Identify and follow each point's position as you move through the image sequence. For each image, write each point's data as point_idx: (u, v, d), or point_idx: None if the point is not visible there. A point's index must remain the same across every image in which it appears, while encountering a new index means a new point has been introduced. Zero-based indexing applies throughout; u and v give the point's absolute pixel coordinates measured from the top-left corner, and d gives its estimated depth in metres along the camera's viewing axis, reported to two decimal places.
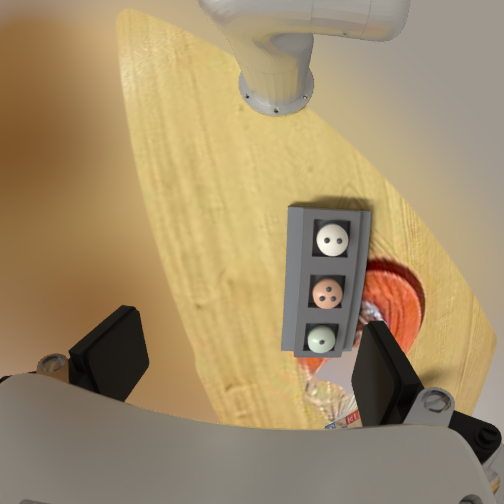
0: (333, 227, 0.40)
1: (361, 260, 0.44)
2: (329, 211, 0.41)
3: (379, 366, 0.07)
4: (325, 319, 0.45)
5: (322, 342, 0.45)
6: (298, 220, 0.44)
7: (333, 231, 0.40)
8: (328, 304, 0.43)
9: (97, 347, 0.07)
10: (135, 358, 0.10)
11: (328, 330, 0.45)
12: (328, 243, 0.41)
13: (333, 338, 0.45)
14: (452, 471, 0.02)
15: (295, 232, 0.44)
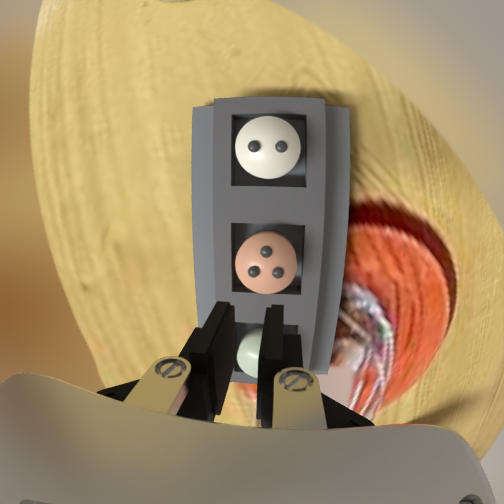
0: (266, 120, 0.18)
1: (338, 199, 0.23)
2: (261, 98, 0.19)
3: None
4: None
5: None
6: (210, 127, 0.22)
7: (267, 127, 0.19)
8: (268, 284, 0.22)
9: (217, 344, 0.08)
10: (231, 353, 0.11)
11: None
12: (258, 151, 0.19)
13: None
14: (452, 471, 0.02)
15: (205, 148, 0.23)
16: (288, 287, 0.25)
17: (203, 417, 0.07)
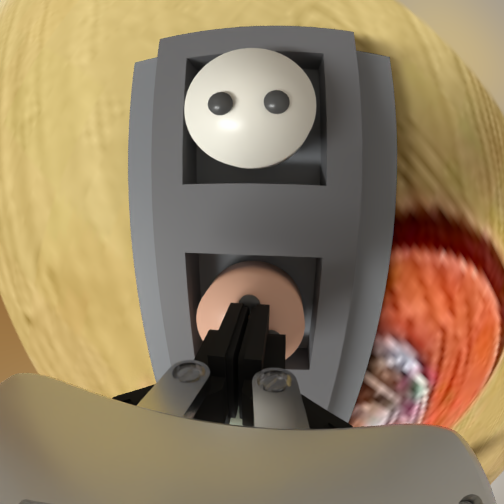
0: (246, 55, 0.08)
1: (377, 207, 0.12)
2: (240, 30, 0.09)
3: None
4: None
5: None
6: None
7: (247, 68, 0.08)
8: None
9: (235, 347, 0.08)
10: None
11: None
12: (228, 113, 0.09)
13: None
14: (452, 471, 0.02)
15: (149, 123, 0.12)
16: None
17: (220, 421, 0.07)
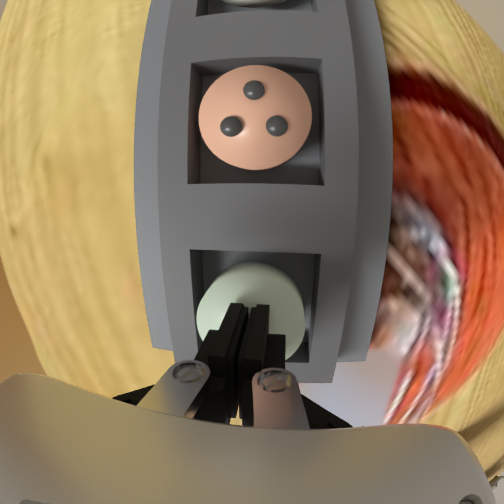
0: None
1: (368, 49, 0.11)
2: None
3: None
4: (262, 234, 0.12)
5: None
6: None
7: None
8: (260, 150, 0.11)
9: (235, 347, 0.08)
10: None
11: (274, 277, 0.11)
12: None
13: (297, 313, 0.11)
14: (452, 471, 0.02)
15: (168, 2, 0.11)
16: (297, 183, 0.13)
17: (220, 421, 0.07)
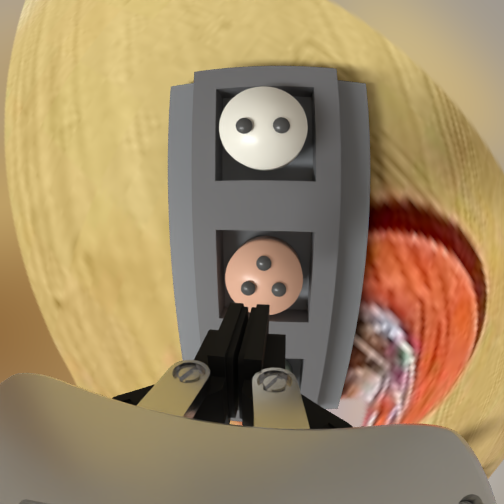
0: (261, 91, 0.13)
1: (356, 198, 0.17)
2: (255, 69, 0.14)
3: None
4: None
5: None
6: (191, 108, 0.17)
7: (261, 101, 0.13)
8: (267, 304, 0.17)
9: (235, 347, 0.08)
10: None
11: None
12: (249, 132, 0.14)
13: None
14: (452, 471, 0.02)
15: (185, 135, 0.17)
16: (292, 311, 0.19)
17: (220, 421, 0.07)
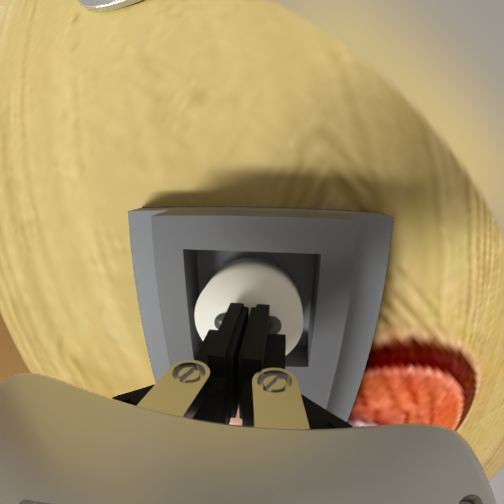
0: (245, 279, 0.11)
1: (353, 357, 0.15)
2: (236, 220, 0.11)
3: None
4: None
5: None
6: None
7: (246, 293, 0.11)
8: None
9: (235, 347, 0.08)
10: None
11: None
12: None
13: None
14: (452, 471, 0.02)
15: (154, 282, 0.15)
16: None
17: (220, 421, 0.07)
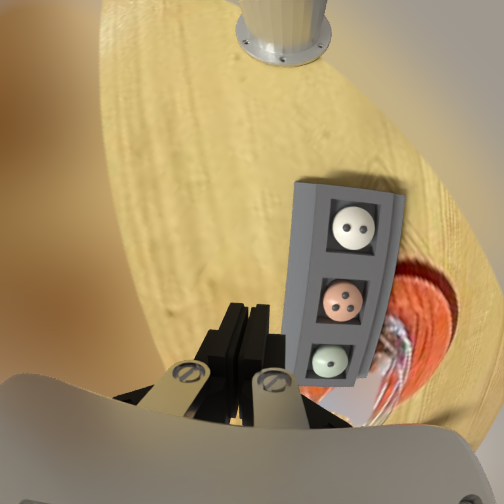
0: (356, 210, 0.28)
1: (390, 261, 0.31)
2: (352, 189, 0.28)
3: None
4: (338, 339, 0.33)
5: (331, 364, 0.33)
6: (308, 201, 0.31)
7: (355, 215, 0.28)
8: (343, 315, 0.31)
9: (235, 347, 0.08)
10: None
11: (340, 349, 0.33)
12: (348, 231, 0.29)
13: (346, 359, 0.33)
14: (452, 471, 0.02)
15: (303, 217, 0.31)
16: (350, 319, 0.33)
17: (220, 421, 0.07)
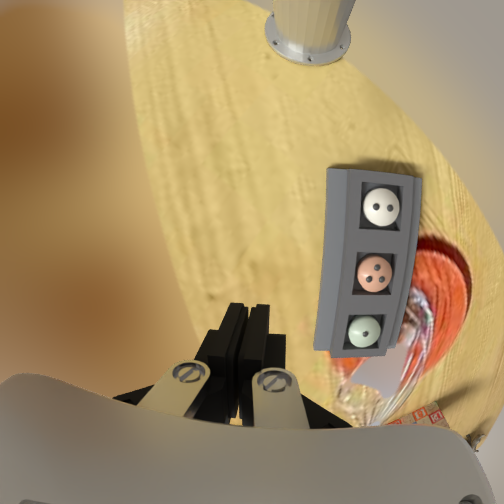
0: (383, 191, 0.31)
1: (412, 236, 0.34)
2: (379, 173, 0.31)
3: None
4: (371, 309, 0.35)
5: (366, 334, 0.36)
6: (341, 184, 0.34)
7: (383, 195, 0.31)
8: (376, 286, 0.34)
9: (235, 347, 0.08)
10: None
11: (373, 319, 0.36)
12: (377, 210, 0.32)
13: (378, 328, 0.35)
14: (452, 471, 0.02)
15: (337, 199, 0.34)
16: (380, 290, 0.36)
17: (220, 421, 0.07)
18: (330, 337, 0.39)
